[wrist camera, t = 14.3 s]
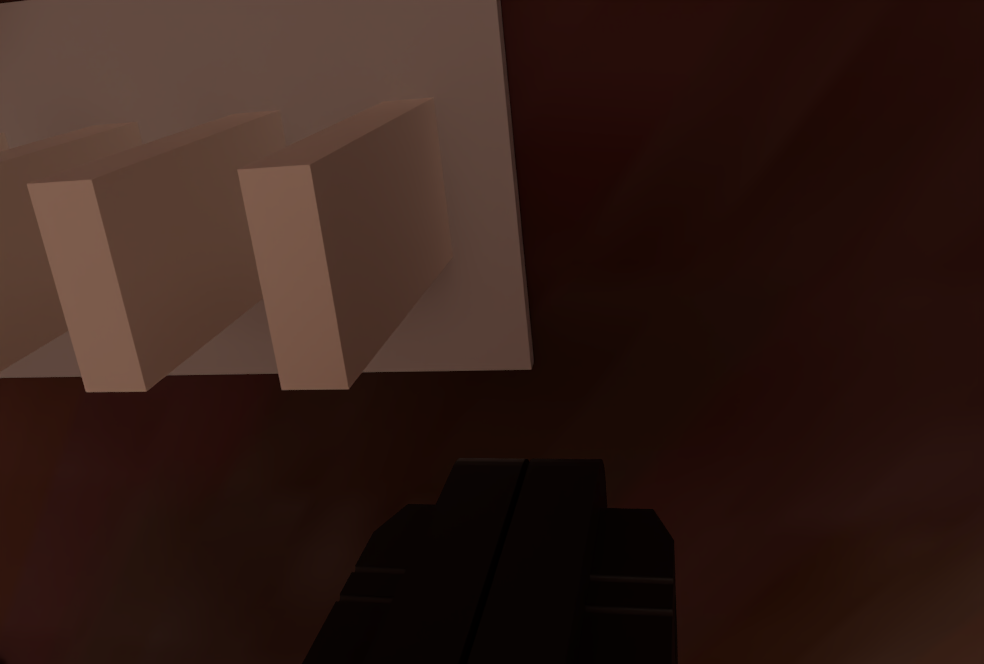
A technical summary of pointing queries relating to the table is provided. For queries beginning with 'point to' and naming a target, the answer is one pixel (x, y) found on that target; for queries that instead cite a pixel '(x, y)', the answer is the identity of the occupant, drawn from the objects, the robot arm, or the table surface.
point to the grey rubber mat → (297, 134)
